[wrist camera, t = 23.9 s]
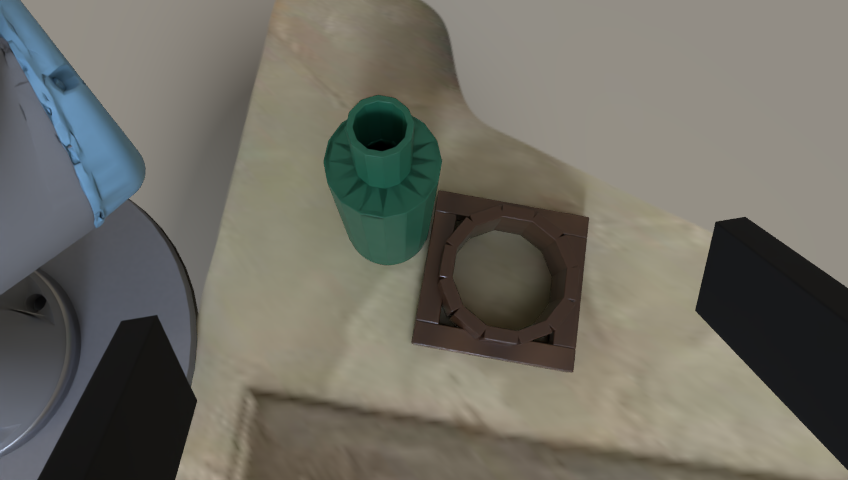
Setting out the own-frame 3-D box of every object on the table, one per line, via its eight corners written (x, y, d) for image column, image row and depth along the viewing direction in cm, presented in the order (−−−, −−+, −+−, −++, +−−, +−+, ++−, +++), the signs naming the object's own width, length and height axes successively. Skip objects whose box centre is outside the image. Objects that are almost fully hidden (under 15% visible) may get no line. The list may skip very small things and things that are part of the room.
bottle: (340, 257, 43) (297, 176, 25) (357, 181, 45) (328, 54, 27) (420, 271, 43) (435, 201, 25) (434, 195, 45) (457, 78, 27)
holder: (411, 344, 41) (412, 341, 38) (437, 195, 45) (441, 179, 41) (567, 372, 41) (584, 372, 38) (583, 222, 45) (600, 208, 41)
